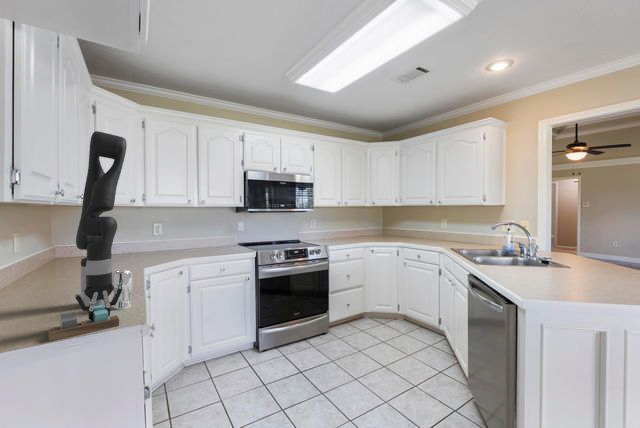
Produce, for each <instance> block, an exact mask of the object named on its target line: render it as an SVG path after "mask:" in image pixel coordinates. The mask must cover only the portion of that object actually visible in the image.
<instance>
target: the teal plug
mask: <svg viewBox="0 0 640 428" xmlns="http://www.w3.org/2000/svg"><path fill="white" fill-rule="evenodd" d="M104 307H105V305H99V306H94V309H93V310H94V312H93V321H92V322H91V323H95V322H100V321H104V320H109V316H108V311H107V310H106V309H105V308H104Z"/></svg>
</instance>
